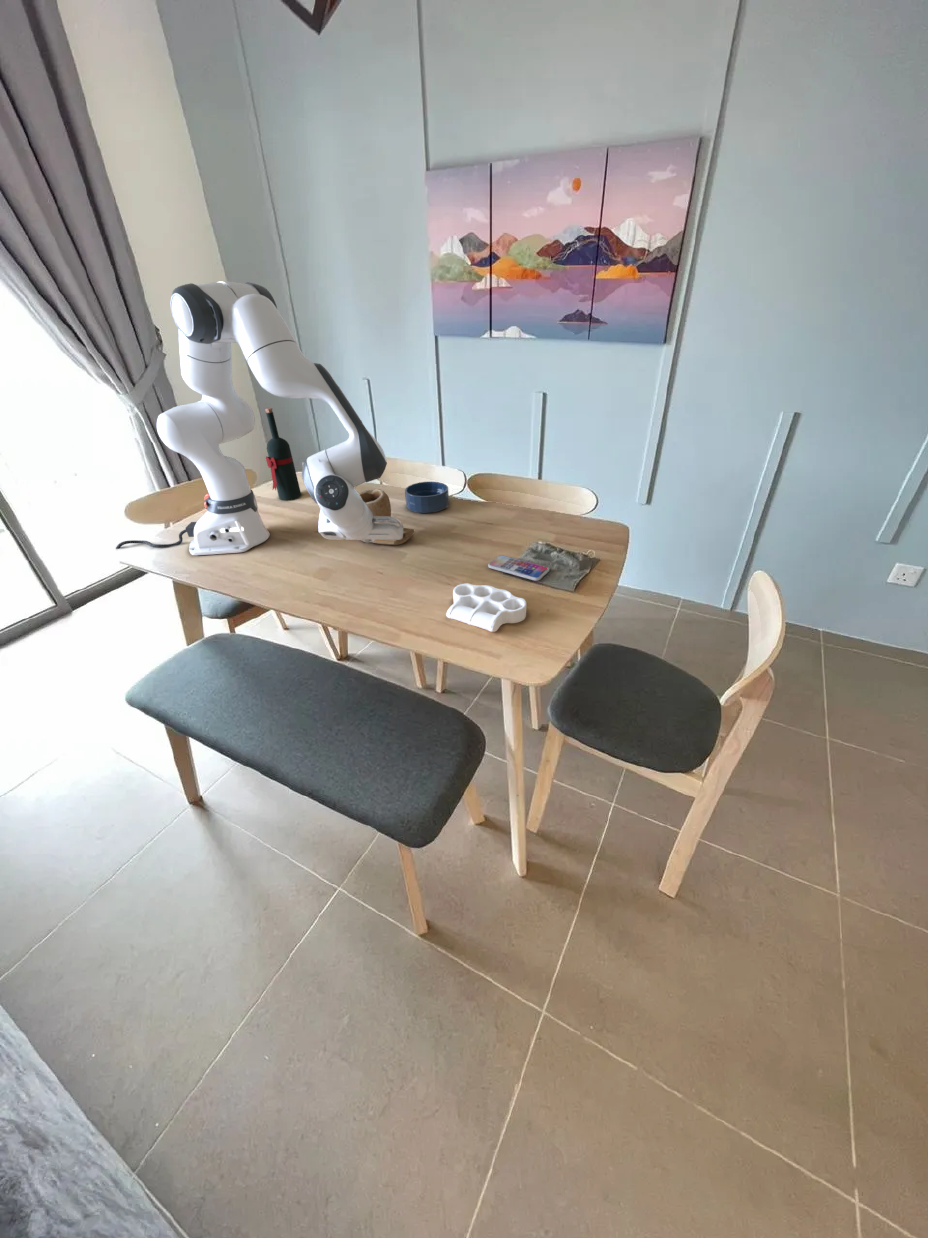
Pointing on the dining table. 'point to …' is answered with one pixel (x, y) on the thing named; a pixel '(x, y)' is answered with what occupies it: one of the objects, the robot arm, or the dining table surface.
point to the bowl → (427, 497)
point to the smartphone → (518, 567)
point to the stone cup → (382, 512)
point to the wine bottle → (281, 463)
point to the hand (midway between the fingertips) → (369, 539)
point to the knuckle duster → (486, 606)
